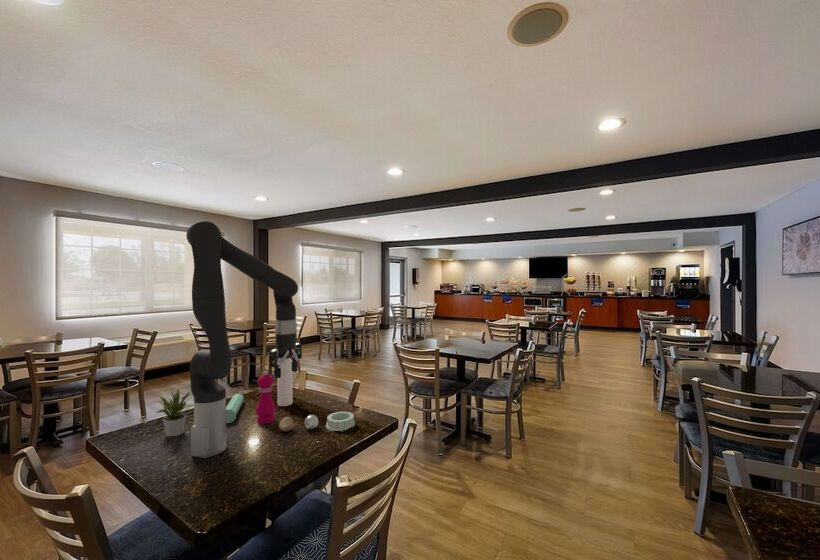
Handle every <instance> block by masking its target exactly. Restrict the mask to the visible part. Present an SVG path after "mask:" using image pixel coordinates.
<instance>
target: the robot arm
mask: <svg viewBox="0 0 820 560" xmlns="http://www.w3.org/2000/svg"><path fill="white" fill-rule="evenodd" d="M186 240H187V242H188V244H189V245H190V246H191V250H192V251H191V252H192V258H193V273H192V274H193V275H192V282H191V303H192V312H193V314H194V317H195V319H196V321H197V322H198V324H199V326H200V327H201V328H202V331H203V332H204V333H205V335H206V338H207V340H208V346H209V349H200V350H198V351H196V352H195V353H194V354H193V356H192V357H191V360H190V363H189V378H190V389H191V390H190V391H191V392H190V393H191V395H192V396H193V404H194V405H193V425H192V426H191V427H190V435H191V436H190V438H191V439H190V443H191V444H190V446H191V447H190V448H191V449H190V451H191V452H190V453H191V454H190V455H191V457H197V458H200V459H201V458H202V459H208V458H210V457H214V456H216V455H219V454H221V453H223V452H224V451H225V450H226V449H227V423H226V407H227V391H226V388H225V386H223V385H221V384H220V383H219V382H217V381H216V380H222V379H225V378H226V377H227V376H228V375H229V374H230V371H231V369H232V354H231V352H232V351H231V347H230V342H229V336H228V329H227V327H228V326H227V317H226V298H225V297H226V296H225V288H224V280H223V273H222V268H221V267H222V265H221V260H222V261H224V262H226V263H227V264H229V265H231V266H232V267H233V268H235V269H237V270H238V271H239V272H242V273H243V274H244V275H246V276H248V277H250V278H251V279H253V280H254V281H255V282H257V283H258V284H261V285H263V286H266V287H268V288H269V289H271V290H273V291H272V292H273V299H274V304H275V325H274V328H275V330H274V332H275V334H274V335H275V336H274V337H275V339H274V340H275V345H276V349H277V350H273V349H272V350H271V349H270V351H269V368H273V370H274V372H273V373H274V375H273V376H274V377H275V378H276V379H277V378H281V368H280V367H281V365H282V363H283V362H284V361H285V360H286V359H288V358H291V360H292V372H297V371H298V369H299V367H298V365H299V363H298V362H299V360H302V357H303V354H302V353H303V352H302V343H299V342H298V341H297V340H298V339H297V338H298V336H297V335H298V334H297V333H298V332H297V331H298V330H297V329H298V328H297V326H298V325H297V318H296V317H297V310H296V309H297V308H296V305H295V304H294V303H293V301H294V300H293V297H294V296H295V295H296V294H297V293H298V291H299V286H298V283H297V282H296V281H295V280H294V279H293V278H291V277H290V276H288V275H286V274H284V273H282V272H280V271H278V270H276V269H275V268H273V267H272V266H271V265H269V264H268V263H267V262H264V260H261V259H260V258H259V257H257V256H255V255H252V254H251V253H249V252H246V251H244V250H243V249H241V248H240V247H238V246H236V245H234V244H233V243H231V242H229V240H227V239H226V238H225V237H223V235H222V232H221V229H220V228H219V227H218V226H217V225H216V224H215V223H214V222H211V221H208V220H199V221H196V222H195V223H193V224H191V225H190V226H189V227H188V228H187V230H186ZM279 358H281V359H279ZM278 362H279V364H278Z"/></svg>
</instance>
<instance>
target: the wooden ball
mask: <svg viewBox="0 0 820 560" xmlns="http://www.w3.org/2000/svg"><path fill="white" fill-rule="evenodd" d="M278 427H279V429H280V430H281V431H282V432H289V431H291V430H292V428H293V427H294V420H293V419H292V418H291V417H288V416H285V417H283V418H281V420H280V421H279V425H278Z"/></svg>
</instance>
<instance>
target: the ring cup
mask: <svg viewBox="0 0 820 560" xmlns="http://www.w3.org/2000/svg"><path fill="white" fill-rule="evenodd" d="M326 421H327V422H326V423H325V428H326V430H327V431H330V432H334V431H341V432H344V431H343V430H347V429H349V428H351V427H353V426H354V425H355V426H356V421H355V415H354V413H352V412H349V411H337V412H332V413H330V414H328V415H327V418H326ZM355 426H354V427H355ZM354 427H353V428H354ZM347 431H348V430H347Z"/></svg>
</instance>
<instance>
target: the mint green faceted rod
mask: <svg viewBox="0 0 820 560" xmlns="http://www.w3.org/2000/svg"><path fill="white" fill-rule="evenodd" d="M243 402H244V395H243V394H242V393H235V394H234V395H233V396H232V397H231V399H230V400H229V402H228V404H226V424H230V423H231V424H232V423H233V422H234V421H235V420H236V419H237V414H238V412H239V411H240V408H241V407H242V404H243Z"/></svg>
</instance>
